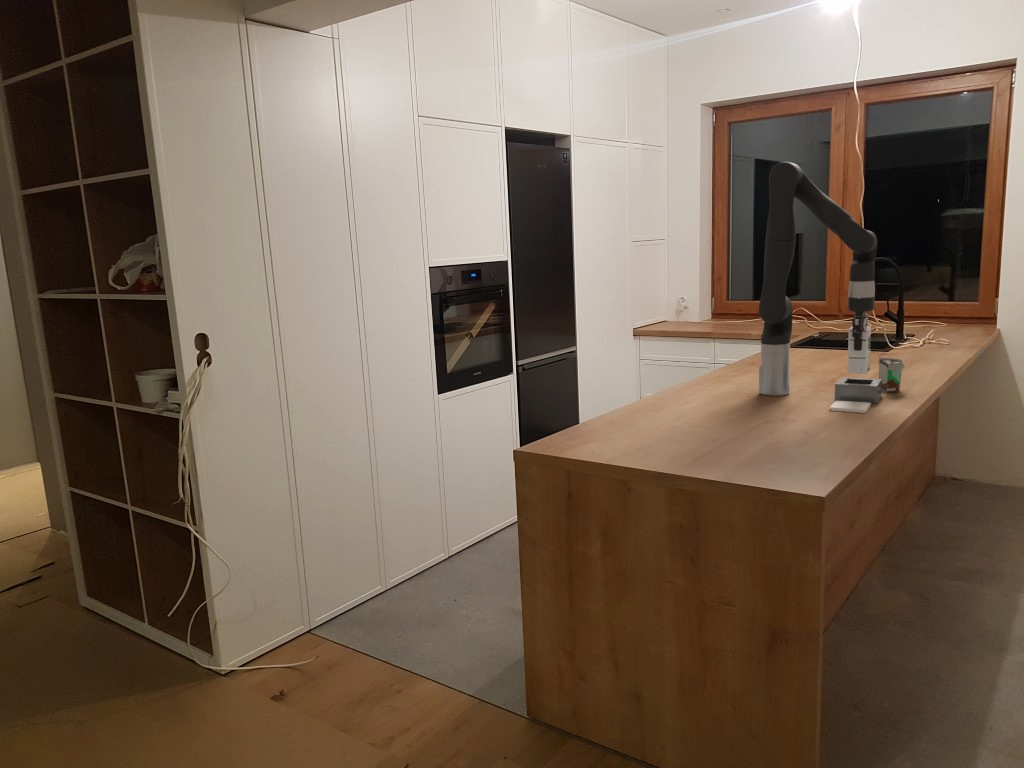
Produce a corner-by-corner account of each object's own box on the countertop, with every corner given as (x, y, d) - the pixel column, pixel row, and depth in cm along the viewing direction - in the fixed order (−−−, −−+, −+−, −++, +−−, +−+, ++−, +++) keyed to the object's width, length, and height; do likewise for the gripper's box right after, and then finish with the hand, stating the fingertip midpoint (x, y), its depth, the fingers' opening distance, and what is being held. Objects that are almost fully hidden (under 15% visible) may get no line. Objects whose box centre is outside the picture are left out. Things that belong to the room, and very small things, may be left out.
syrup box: (867, 374, 238) (869, 328, 236) (846, 373, 242) (848, 327, 239) (869, 371, 243) (871, 325, 240) (849, 370, 246) (851, 325, 243)
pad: (829, 410, 231) (829, 407, 230) (835, 403, 239) (835, 400, 239) (865, 413, 225) (865, 409, 225) (870, 405, 233) (870, 402, 233)
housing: (834, 401, 242) (835, 384, 241) (841, 393, 252) (842, 377, 251) (875, 403, 236) (876, 386, 235) (881, 395, 245) (882, 379, 244)
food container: (908, 394, 246) (909, 363, 244) (887, 394, 247) (888, 363, 245) (897, 386, 258) (898, 357, 256) (877, 386, 259) (878, 357, 257)
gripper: (852, 293, 246) (850, 345, 249) (844, 297, 234) (842, 351, 237) (878, 293, 241) (875, 346, 245) (870, 297, 230) (868, 352, 233)
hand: (859, 348), depth 241 cm, fingers closed on syrup box, 5 cm apart
